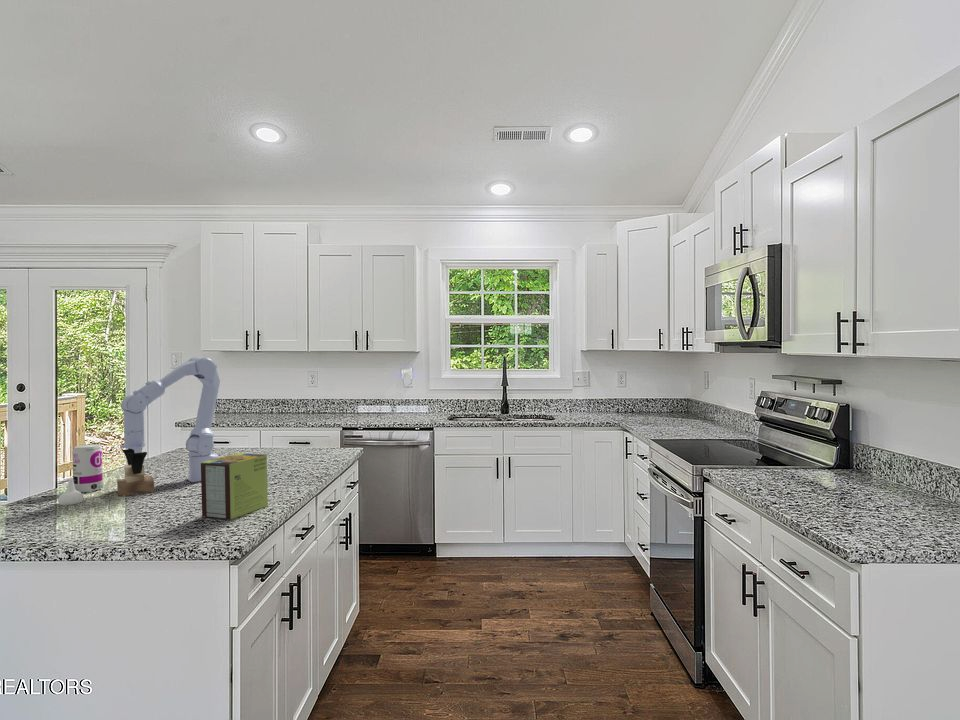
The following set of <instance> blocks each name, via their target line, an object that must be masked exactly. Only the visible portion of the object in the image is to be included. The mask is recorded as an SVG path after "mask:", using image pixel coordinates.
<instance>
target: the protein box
mask: <svg viewBox="0 0 960 720" xmlns="http://www.w3.org/2000/svg"><path fill="white" fill-rule="evenodd" d="M200 482H201V483H200V484H201V485H200V490H201V491H200V492H201V517H202V516H205V517H204V518H208V517H214V518H213V519H218V518H221V520H227V519H229V521H231V520H234V519H237V518H239V517H242V516H245V515H246V514H250V513H253V512H255V511H258V510H260V509H262V508H265V507H268V503H269V502H268V501H269V500H268V455H267V454H262V453H249V452H248V453H246V452H238V453H234V454H229V455H225V456H221V457H218V458H217V459H213V460H209V461H205V462H201V481H200Z"/></svg>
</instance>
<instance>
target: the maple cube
mask: <svg viewBox="0 0 960 720" xmlns="http://www.w3.org/2000/svg"><path fill="white" fill-rule="evenodd" d="M123 467H124V468H123V469H124V473H123V474H124V479H125V481H126V482H127V483H131V482H138V481H145V480H144V476H145V464H143V466H142V471H141V473H140V474H133V471H132V466H131V465H128V464H125V465H123Z"/></svg>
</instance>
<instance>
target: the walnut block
mask: <svg viewBox="0 0 960 720" xmlns="http://www.w3.org/2000/svg"><path fill="white" fill-rule="evenodd" d="M144 480H145V481H138V482H131V483H127V482H126V481H125V478H121V479H117V480H116V487H117V489H116V490H117V495H119V496H118V497H124V496H123V495H126V496H131V495H130V494H134V495H137V494H136V493H141V494H146V493H145V492H149V493H153V492H152V491H154V492H155V480H154V478H153V476H152V475H147V476H145V475H144Z"/></svg>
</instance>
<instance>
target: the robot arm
mask: <svg viewBox="0 0 960 720" xmlns="http://www.w3.org/2000/svg"><path fill="white" fill-rule="evenodd" d="M217 368H218V365H217V364H216V362H215V361H214V360H212V358H209V357H191V358H189V359H188V360H186V361H184V362H183V363H181V364H180V365H179V366H177V367H176V368H174V369H173V370H172V371H170V372H169V373H167V374H166V375H165V376H163V377H162V378H161V379H160V380H152V381H147V382H145V385H144V386H142V387H140V388H139V389H138V390H134V391H132V394H131V395H130V394H129V395H126V396H125V397H124V398H122V401H121V403H120V408H121V410H122V411H123V435H124V436H123V438H124V444H122V445H121V444H120V445H119V446H120V449H122V453H123V454H124V456H125V458H126V463H127V465H131V466H132V471H133V474H140V473H141V471H142V466H143V465H144V461H145V458H146V457H147V454H148V452H147V451H143V448H144V447H146V443H145V417H144V416H145V414H144V412H145V410H146V409H147V407H148V405H150V404H151V403H152V402H154V401H156V400H157V399H158V398H161V397H162V396H163V395H165V391H166V389H167V388H168V387H170V386H172V385H174V383H177V382H178V381H180V380H181V379H183V378H184V377H186V376H188V377H189V376H194V377H195V378H197V379H198V380H199V382H201V384H202V390H201V393H200V399H199V405H198V409H197V413H196V420H195V425H194V427H193V428H192V429H191V430H190V434H189V437H188V438H187V439H186V441H185V449H186V450H187V451H188V472H189V474H188V475H189V476H188V477H186V478H185V479H186V480H188V481H189V482H190V483H196V482H201V462H205V461H209V460H213V459H217V458H219V456H218V454H217V453H216V452H215V453H212V451H213V450H214V448H215V442H214V433H213V431H212V425H213V420H214V414H215V409H216V404H217V399H218V394H219V388H220V383H221V380H220V376H219V374H218V370H217Z"/></svg>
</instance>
